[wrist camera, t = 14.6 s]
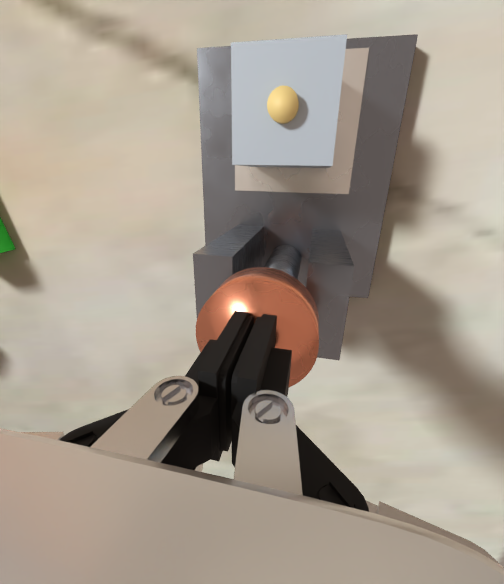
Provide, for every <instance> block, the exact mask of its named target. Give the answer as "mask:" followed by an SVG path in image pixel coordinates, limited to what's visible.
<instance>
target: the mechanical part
mask: <svg viewBox="0 0 504 584" xmlns="http://www.w3.org/2000/svg"><path fill="white" fill-rule="evenodd" d="M14 249H15V247H14V245H13V243H12V240H11V238H10V236H9V234H8V232H7V230H6V228H5V226H4V224H3V222H2V220H1V218H0V253H3V252H7V251H10V250H14Z"/></svg>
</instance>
